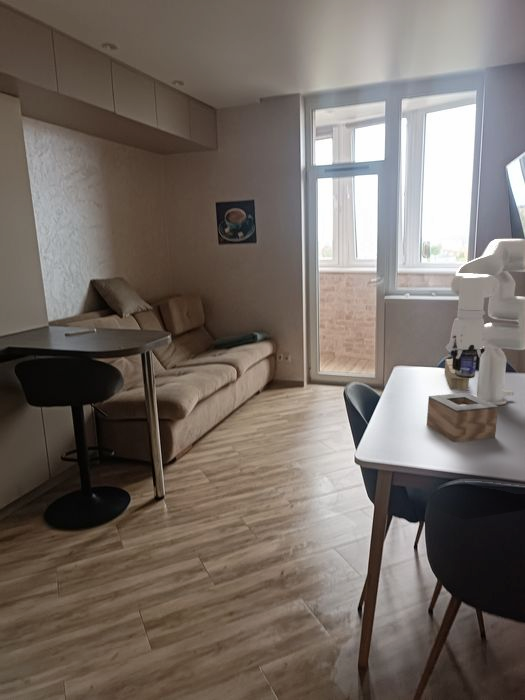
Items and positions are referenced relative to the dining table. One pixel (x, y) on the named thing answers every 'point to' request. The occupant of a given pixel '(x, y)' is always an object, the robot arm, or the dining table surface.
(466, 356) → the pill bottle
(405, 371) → the dining table surface
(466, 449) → the dining table surface
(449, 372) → the block tower
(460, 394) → the sleeve block
